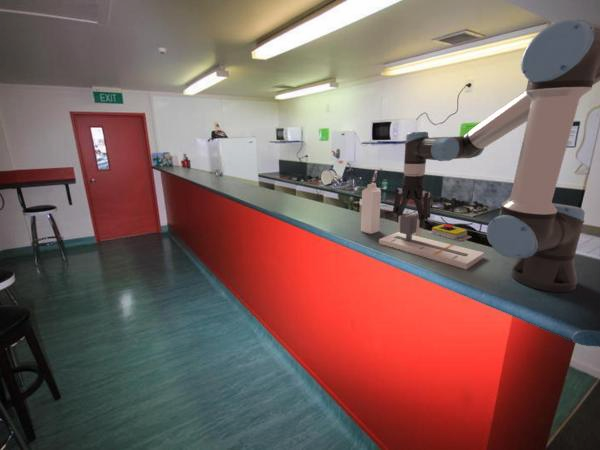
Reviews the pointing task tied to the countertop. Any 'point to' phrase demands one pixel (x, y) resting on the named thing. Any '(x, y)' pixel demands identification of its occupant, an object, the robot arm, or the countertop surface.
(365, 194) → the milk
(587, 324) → the countertop surface
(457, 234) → the emergency button
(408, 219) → the fader
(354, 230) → the countertop surface
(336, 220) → the countertop surface
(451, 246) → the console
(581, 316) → the countertop surface
